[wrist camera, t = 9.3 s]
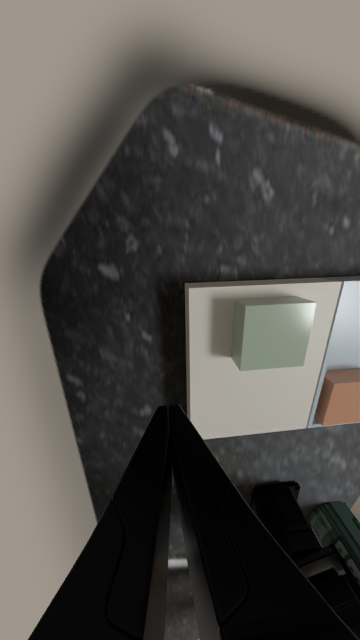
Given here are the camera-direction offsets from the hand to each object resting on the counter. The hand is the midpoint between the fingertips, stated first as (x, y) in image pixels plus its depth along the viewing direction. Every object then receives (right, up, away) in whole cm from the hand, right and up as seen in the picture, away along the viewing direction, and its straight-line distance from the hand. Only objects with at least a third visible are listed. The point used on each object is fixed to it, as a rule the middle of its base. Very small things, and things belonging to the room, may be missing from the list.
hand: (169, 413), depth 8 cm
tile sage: (+7, +3, +8) cm, 11 cm away
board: (+7, 0, +12) cm, 14 cm away
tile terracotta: (+17, -4, +13) cm, 22 cm away
